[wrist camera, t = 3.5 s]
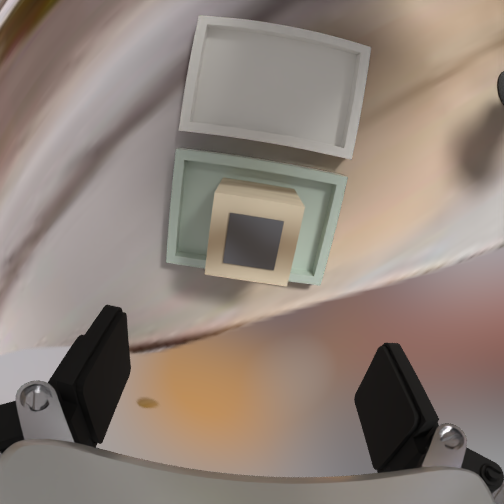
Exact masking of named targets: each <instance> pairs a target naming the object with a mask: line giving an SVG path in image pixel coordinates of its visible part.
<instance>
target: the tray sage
mask: <svg viewBox="0 0 504 504" xmlns="http://www.w3.org/2000/svg"><path fill="white" fill-rule="evenodd" d="M223 177H224V178H231V179H237V180H244V181H250V182H257V183H263V184H269V185H275V186H280V187H286V188H292V189H295V191H296V193H297V194H298V196H299V198H300V199H301V201H302V203H303V204H304V206H305V209H304V214H303V219H302V223H301V228H300V232H299V237H298V241H297V246H296V250H295V255H294V259H293V263H292V267H291V272H290V276H289V280H288V281H291V282H298V283H305V284H312V285H321V281H322V278H323V274H324V271H325V267H326V263H327V260H328V256H329V252H330V249H331V245H332V241H333V237H334V233H335V229H336V225H337V221H338V217H339V213H340V209H341V205H342V201H343V196H344V192H345V188H346V183H347V179H348V177H346V176H345V175H343V174H338V173H334V172H329V171H324V170H319V169H314V168H310V167H304V166H299V165H294V164H289V163H283V162H277V161H272V160H266V159H260V158H254V157H247V156H241V155H234V154H227V153H220V152H212V151H205V150H197V149H188V148H178V149H176V154H175V162H174V171H173V181H172V191H171V201H170V213H169V225H168V239H167V255H166V263H172V264H178V265H184V266H191V267H197V268H203V269H205V266H206V257H207V248H208V240H209V231H210V223H211V215H212V208H213V200H214V193H215V191H216V189H217V187H218V185H219V184H220V182H221V180H222V178H223Z"/></svg>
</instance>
